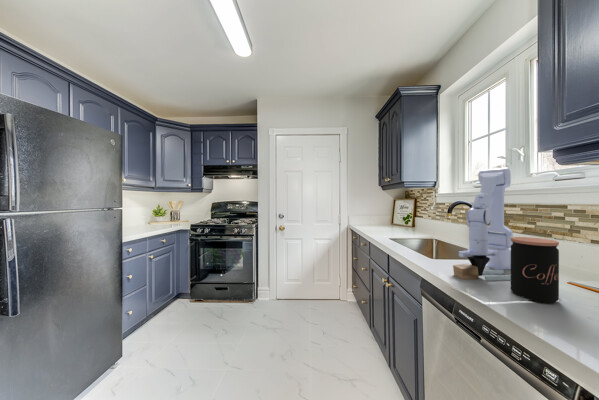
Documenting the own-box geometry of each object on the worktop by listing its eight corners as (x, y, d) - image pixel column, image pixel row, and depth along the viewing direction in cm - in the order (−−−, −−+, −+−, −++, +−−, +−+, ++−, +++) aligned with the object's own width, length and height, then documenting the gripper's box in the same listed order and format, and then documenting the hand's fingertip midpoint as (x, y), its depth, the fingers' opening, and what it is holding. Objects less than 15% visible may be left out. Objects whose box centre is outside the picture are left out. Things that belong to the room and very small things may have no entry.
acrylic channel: (502, 274, 94) (502, 269, 94) (520, 281, 87) (520, 275, 87) (470, 275, 93) (470, 270, 93) (485, 282, 86) (485, 276, 86)
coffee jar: (520, 301, 70) (520, 241, 70) (504, 288, 80) (504, 236, 80) (568, 307, 66) (568, 244, 66) (545, 293, 76) (545, 238, 76)
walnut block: (469, 274, 93) (467, 263, 93) (478, 279, 88) (477, 267, 88) (454, 276, 93) (453, 265, 93) (463, 280, 88) (461, 268, 88)
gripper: (485, 237, 94) (485, 271, 95) (452, 238, 93) (452, 272, 93) (502, 240, 87) (502, 276, 88) (467, 241, 86) (467, 278, 86)
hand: (478, 275), depth 90 cm, fingers closed
